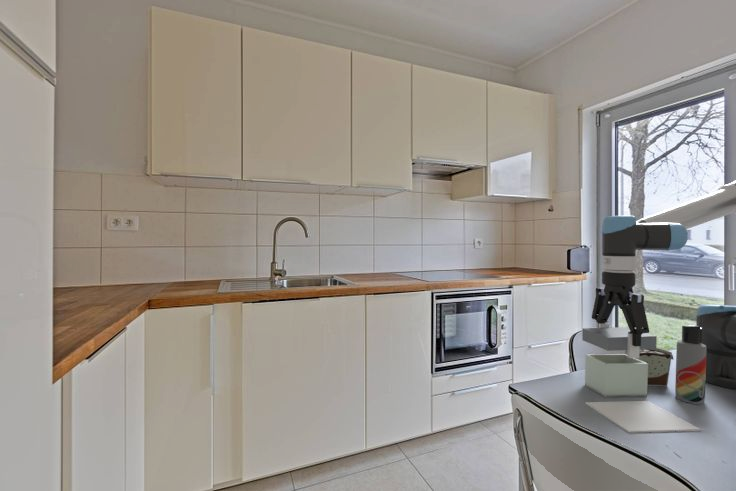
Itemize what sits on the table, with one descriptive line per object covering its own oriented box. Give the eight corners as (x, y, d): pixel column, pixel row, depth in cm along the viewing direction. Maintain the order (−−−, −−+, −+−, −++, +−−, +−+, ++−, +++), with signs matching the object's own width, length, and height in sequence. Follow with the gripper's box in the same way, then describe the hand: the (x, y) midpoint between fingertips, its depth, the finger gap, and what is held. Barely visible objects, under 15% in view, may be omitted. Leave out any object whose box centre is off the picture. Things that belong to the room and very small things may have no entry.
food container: (656, 378, 104) (657, 345, 103) (672, 386, 98) (673, 352, 97) (614, 375, 105) (615, 344, 105) (627, 384, 99) (628, 350, 99)
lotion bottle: (694, 406, 86) (697, 328, 86) (669, 396, 91) (672, 323, 91) (710, 403, 87) (712, 327, 87) (684, 393, 93) (686, 321, 93)
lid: (626, 339, 99) (626, 327, 99) (656, 349, 90) (656, 336, 90) (582, 340, 98) (582, 328, 98) (607, 350, 89) (607, 337, 89)
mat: (647, 402, 87) (647, 401, 87) (700, 430, 74) (700, 429, 74) (585, 403, 86) (585, 402, 86) (628, 432, 73) (628, 431, 73)
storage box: (623, 384, 98) (624, 354, 98) (647, 396, 91) (648, 363, 91) (584, 385, 97) (585, 354, 97) (605, 397, 90) (606, 364, 90)
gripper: (577, 268, 104) (577, 339, 105) (640, 275, 82) (640, 366, 83) (600, 268, 105) (600, 339, 105) (669, 275, 83) (668, 365, 83)
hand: (617, 351), depth 94 cm, fingers closed on lid, 9 cm apart
